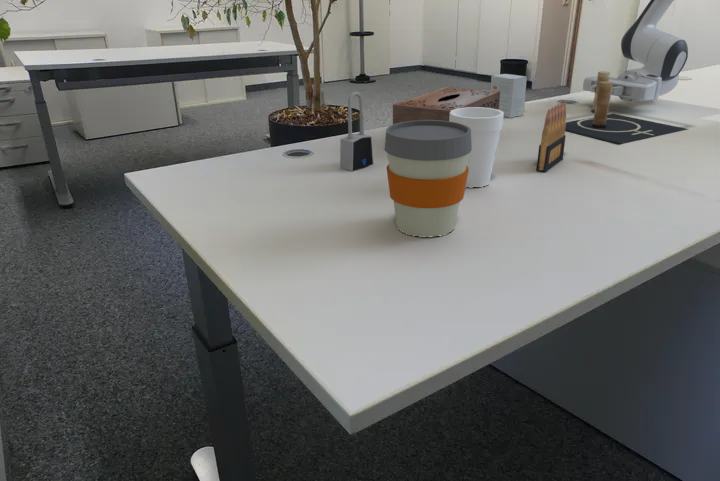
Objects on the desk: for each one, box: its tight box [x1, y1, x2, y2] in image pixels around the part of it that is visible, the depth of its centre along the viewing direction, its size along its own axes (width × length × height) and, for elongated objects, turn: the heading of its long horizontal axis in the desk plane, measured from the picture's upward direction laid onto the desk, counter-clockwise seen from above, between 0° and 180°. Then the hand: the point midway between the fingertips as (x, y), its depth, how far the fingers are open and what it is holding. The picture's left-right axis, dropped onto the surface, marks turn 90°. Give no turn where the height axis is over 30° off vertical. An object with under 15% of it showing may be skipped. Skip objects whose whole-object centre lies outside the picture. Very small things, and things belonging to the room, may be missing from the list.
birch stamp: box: [591, 70, 611, 113], centre depth 152 cm, size 3×3×11 cm
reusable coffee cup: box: [384, 120, 472, 237], centre depth 81 cm, size 13×13×15 cm
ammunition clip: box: [535, 100, 567, 173], centre depth 108 cm, size 11×2×12 cm, turn 144°
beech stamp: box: [592, 81, 613, 128], centre depth 135 cm, size 3×3×11 cm
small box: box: [490, 73, 528, 119], centre depth 151 cm, size 8×6×10 cm
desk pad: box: [565, 113, 689, 146], centre depth 136 cm, size 22×24×1 cm
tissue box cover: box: [392, 86, 500, 125], centre depth 128 cm, size 26×14×10 cm, turn 145°
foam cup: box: [449, 107, 505, 189], centre depth 100 cm, size 10×9×13 cm
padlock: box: [339, 91, 374, 172], centre depth 110 cm, size 7×4×15 cm, turn 138°
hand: (599, 90), depth 151 cm, fingers closed on birch stamp, 3 cm apart
